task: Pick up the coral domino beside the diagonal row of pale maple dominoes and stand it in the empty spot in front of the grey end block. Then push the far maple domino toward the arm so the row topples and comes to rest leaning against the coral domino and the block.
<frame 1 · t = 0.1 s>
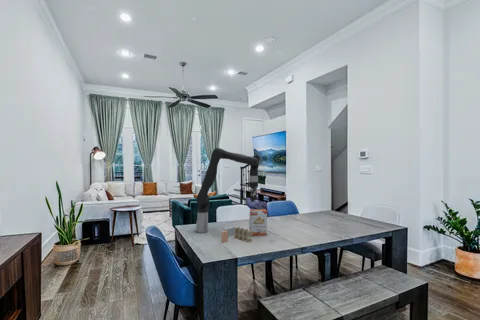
hand: (253, 200, 206), 29 cm above the table, tool pointing down, fingers open, 8 cm apart
domino 4: (249, 241, 192), on the table
end block: (229, 235, 209), on the table
domino 1: (237, 237, 202), on the table
domino 2: (241, 238, 199), on the table
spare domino: (224, 241, 191), on the table
cracker box: (257, 234, 211), on the table
domino 3: (245, 240, 195), on the table
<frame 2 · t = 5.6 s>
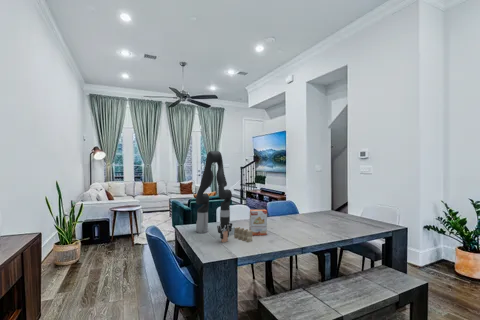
hand: (224, 237, 191), 3 cm above the table, tool pointing down, fingers closed on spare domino, 5 cm apart
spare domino: (224, 241, 191), on the table, touching gripper
everything else where it was.
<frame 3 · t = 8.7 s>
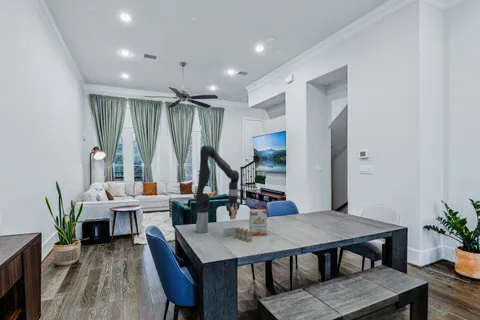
hand: (232, 215, 204), 17 cm above the table, tool pointing down, fingers closed on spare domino, 5 cm apart
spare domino: (232, 219, 204), point 14 cm above the table, touching gripper
everything else where it was.
when the fingers open (4 cm above the table, at t = 11.9 s): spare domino stays where it is, on the table.
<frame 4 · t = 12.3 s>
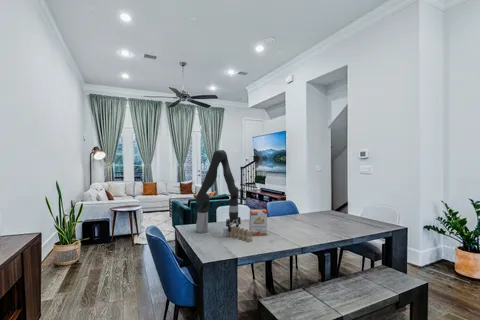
hand: (233, 230, 205), 5 cm above the table, tool pointing down, fingers open, 8 cm apart
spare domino: (233, 236, 205), on the table
everything else where it was.
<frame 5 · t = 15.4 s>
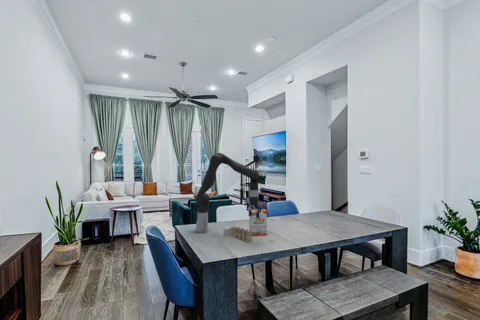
hand: (253, 217, 190), 19 cm above the table, tool pointing down, fingers open, 8 cm apart
nothing on the table moved.
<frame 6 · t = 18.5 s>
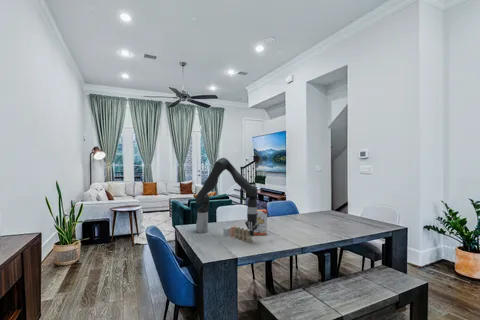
hand: (251, 235, 191), 5 cm above the table, tool pointing down, fingers closed
nothing on the table moved.
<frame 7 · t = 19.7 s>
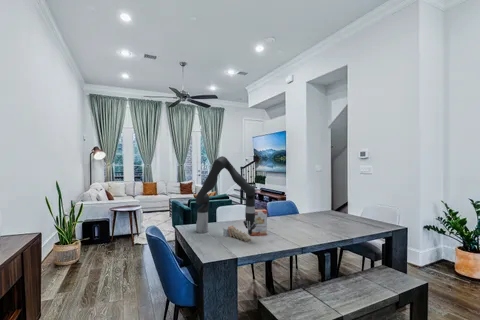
hand: (249, 234, 192), 6 cm above the table, tool pointing down, fingers closed
domino 4: (248, 240, 193), point 1 cm above the table, tilted 65°, touching domino 3
domino 1: (236, 236, 202), on the table, tilted 41°, touching domino 2, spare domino
domino 2: (240, 237, 199), point 1 cm above the table, tilted 54°, touching domino 1, domino 3
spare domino: (233, 236, 205), on the table, tilted 26°, touching domino 1, end block
domino 3: (244, 239, 196), point 1 cm above the table, tilted 61°, touching domino 2, domino 4
everything else where it was.
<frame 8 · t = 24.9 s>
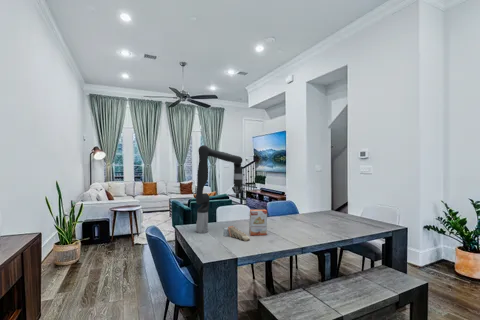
hand: (237, 198, 222), 29 cm above the table, tool pointing down, fingers closed
domino 1: (235, 236, 203), on the table, tilted 34°, touching domino 2, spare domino
domino 2: (239, 237, 200), point 1 cm above the table, tilted 49°, touching domino 1, domino 3
domino 3: (243, 238, 197), point 1 cm above the table, tilted 58°, touching domino 2, domino 4
everything else where it was.
at the end: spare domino tilted 24°; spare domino 0.3 cm from the target spot, on the table; domino 1 tilted 34° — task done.
